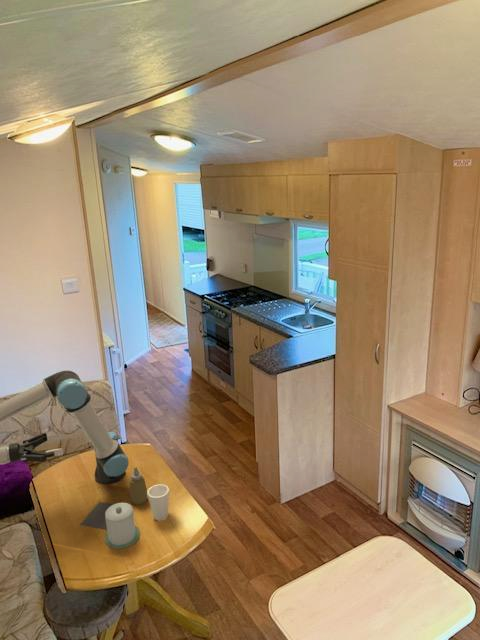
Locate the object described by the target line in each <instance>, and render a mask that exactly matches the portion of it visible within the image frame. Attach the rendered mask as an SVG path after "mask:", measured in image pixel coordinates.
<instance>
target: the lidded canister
mask: <svg viewBox="0 0 480 640" xmlns="http://www.w3.org/2000/svg"><path fill="white" fill-rule="evenodd" d="M113 504H114V505H112V506H110V507H109V508H108V509H107V510H106V512H105V518H106V525H107V530H106V532H107V533H108V539H109V541H110V542H111V543H112V544H115V545H123V544H127V543H128V542H130V541H132V540H133V538H134V537H135V535H136V532H135V526H136V525H135V517H134V509H133V506H132V505H131V504H130V503H127V502H117V503H113Z"/></svg>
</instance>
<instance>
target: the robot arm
mask: <svg viewBox="0 0 480 640" xmlns="http://www.w3.org/2000/svg"><path fill="white" fill-rule="evenodd" d="M56 397H57V400H58V402H59V403H60V404H61V406H62V407H63V408H64V409H65V411H66V412H67V413H68V414H72V415H73V417H74V418H75V420H76V421H77V423H78V425H79V426H80V428H81V429H82V431H83V433H84V435H85V436H86V437H87V438H88V440H89V442H90V444H91V445H92V447H93V449H94V455H95V461H96V465H95V471H94V479H95V482H96V483H98V484H101V485H112V484H115V483H118V482H119V481H122V480H123V479H124V477H126V473H127V472H126V470H127V469H128V468H129V458H128V456H127V455H126V453H125V452H124V449H123V448H122V447H121V445H120V443H119V436H118V434H117V432H114V431H108V430H107V428H106V426H105V425H104V424H103V421H102V420H101V419H100V417H99V415H98V413H97V412H96V410H95V409H94V407H93V405H92V403H91V399H92V398H91V395H90V393H89V392H88V390H87V388H86V386H85V384H84V382H82V380H81V379H80V376H79V375H78V374H77V373H76V372H74V371H72V370H61V371H57V372H56V373H53V374H51V375H49V376H47V377H45V378H43V380H42V381H41V383H39V384H36V385H35V386H33V387H31V388H29V389H27V390H24V391H23V392H21V393H19V394H17V395H15V396H13V397H11V398H9V399H7V400H5V401H3V402H1V403H0V424H1V423H2V422H5V421H6V420H8V419H11V418H13V417H15V416H17V415H18V414H20V413H23V412H24V411H26V410H27V409H30V408H33V407H34V406H35V405H38V404H39V403H42V402H43V401H46V400H48V399H49V398H53V399H54V398H56ZM63 439H64V435H63V432H58V433H54V434H47V433H45V432H44V433H41V434H39V435H36V436H34V437H31V438H29V439H26V440H23V441H22V444H20V443H19V442H16V443H10V444H9V445H8V444H4V445H0V465H5V464H10V462H11V463H15V462H22V463H24V462H33V463H34V462H35V463H37V462H38V463H42V462H43V463H44V462H46V461H47V460H48V459H47V458H52V457H57V456H62V455H64V452H63V447H60V448H55V449H50V450H46V451H45V452H43V451H38V450H35V449H36V448H37V447H39V446H40V445H43V444H44V443H46V442H47V443H49V442H53V441H59V440H63Z"/></svg>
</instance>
